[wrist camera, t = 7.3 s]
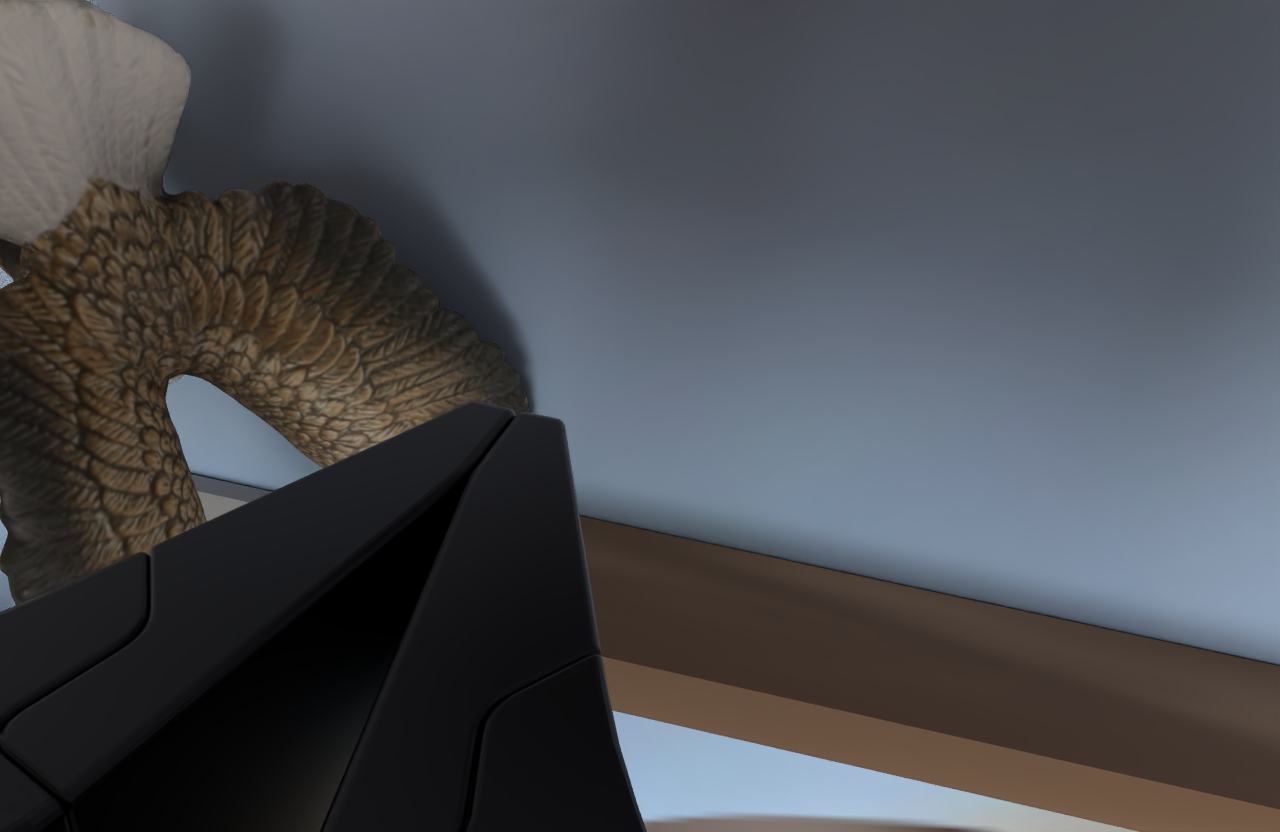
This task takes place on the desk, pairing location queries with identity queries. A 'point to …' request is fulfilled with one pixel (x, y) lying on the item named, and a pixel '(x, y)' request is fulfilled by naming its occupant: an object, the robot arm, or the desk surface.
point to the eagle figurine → (177, 305)
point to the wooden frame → (935, 686)
